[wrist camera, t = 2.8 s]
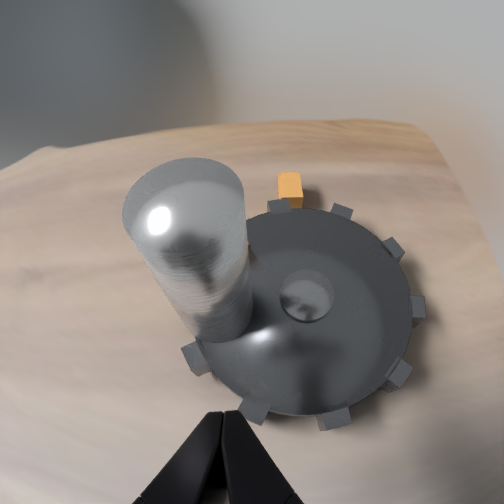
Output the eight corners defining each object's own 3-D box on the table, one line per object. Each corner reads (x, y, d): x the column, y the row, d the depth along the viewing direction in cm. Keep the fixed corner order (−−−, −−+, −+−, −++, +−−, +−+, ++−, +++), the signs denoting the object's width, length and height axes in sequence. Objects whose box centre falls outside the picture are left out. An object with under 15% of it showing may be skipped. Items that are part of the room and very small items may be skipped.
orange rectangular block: (301, 212, 24) (303, 196, 23) (280, 213, 24) (281, 197, 23) (297, 188, 26) (299, 172, 24) (278, 188, 26) (278, 172, 24)
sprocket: (446, 298, 19) (537, 197, 10) (315, 479, 14) (383, 535, 4) (287, 185, 25) (294, 58, 16) (138, 311, 19) (51, 201, 10)
